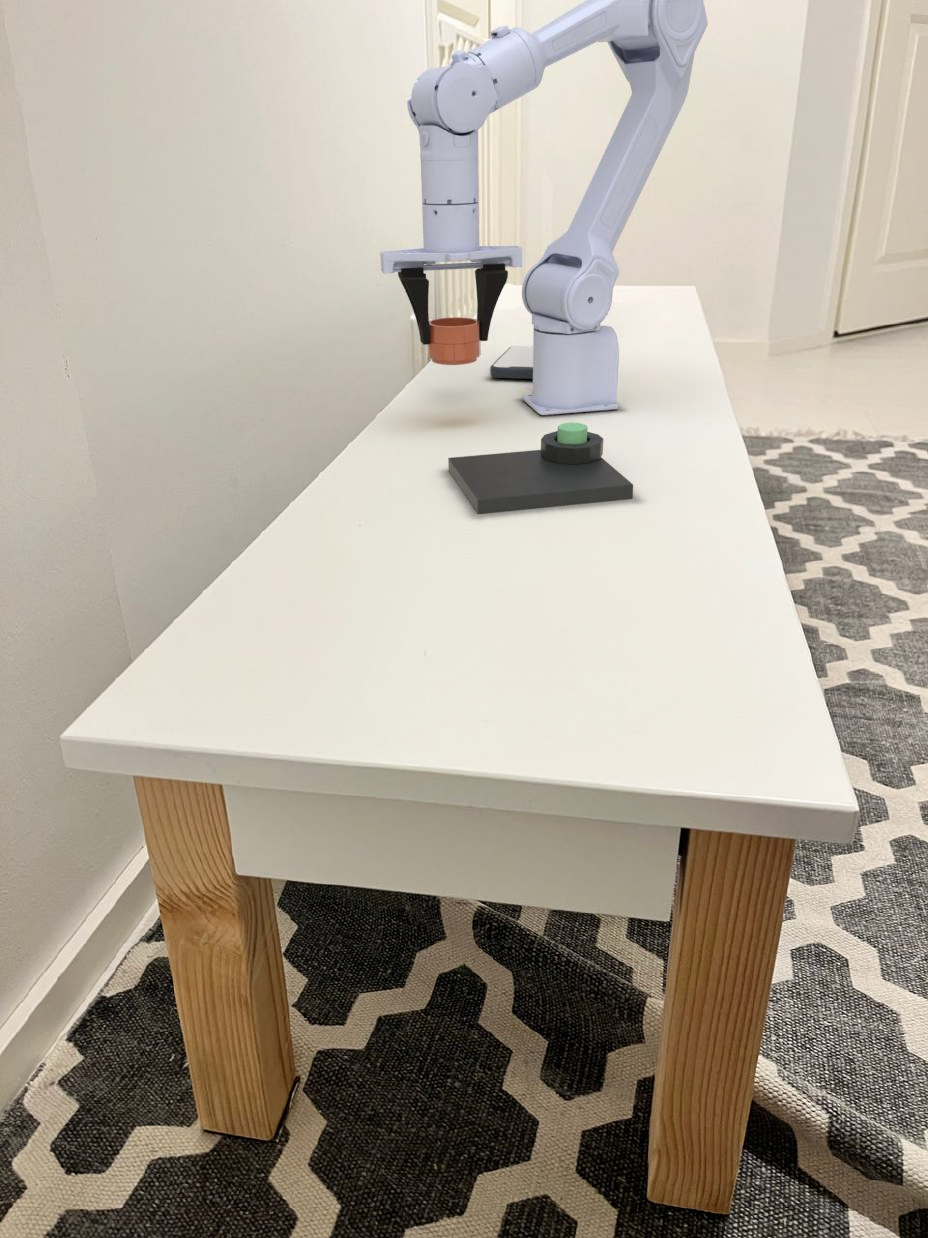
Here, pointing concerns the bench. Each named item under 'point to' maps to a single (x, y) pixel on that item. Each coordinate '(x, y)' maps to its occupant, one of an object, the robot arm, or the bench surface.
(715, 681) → the bench surface
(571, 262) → the robot arm
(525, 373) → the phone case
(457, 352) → the bowl
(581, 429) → the button
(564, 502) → the scale
